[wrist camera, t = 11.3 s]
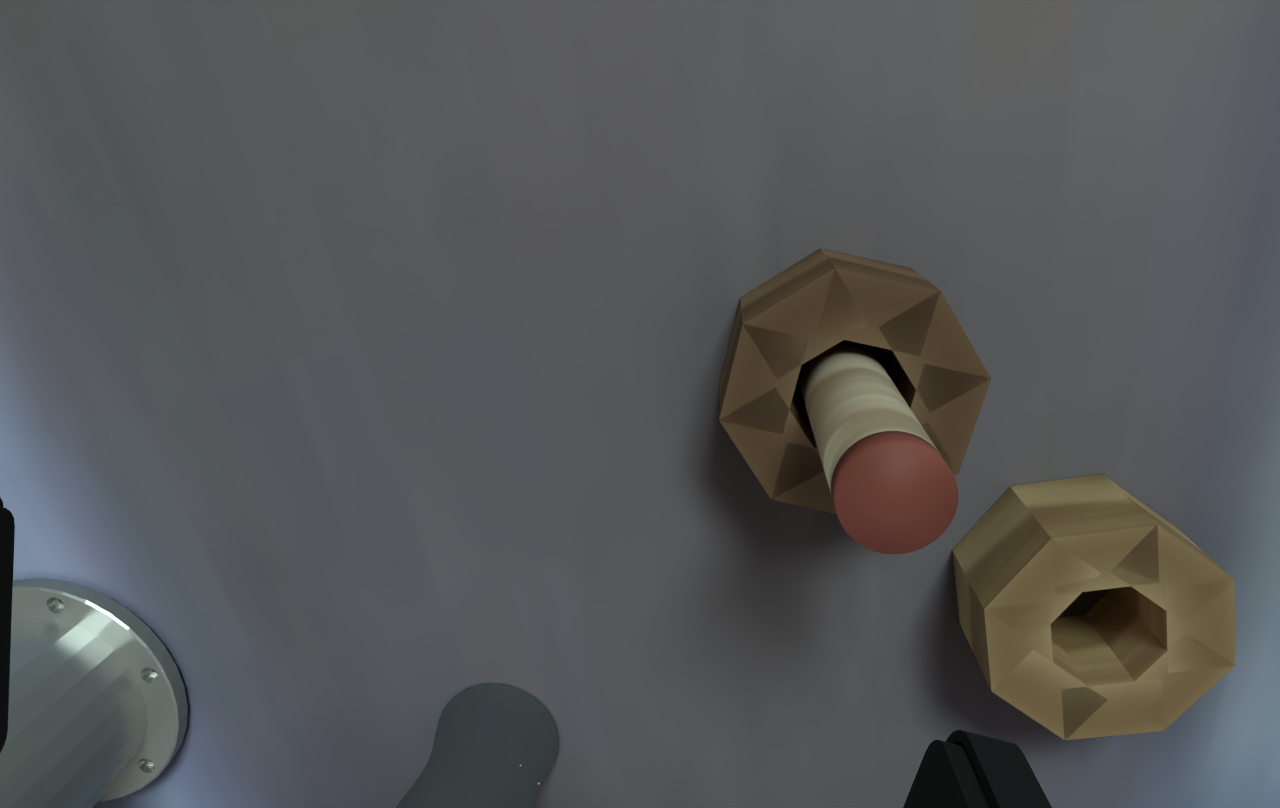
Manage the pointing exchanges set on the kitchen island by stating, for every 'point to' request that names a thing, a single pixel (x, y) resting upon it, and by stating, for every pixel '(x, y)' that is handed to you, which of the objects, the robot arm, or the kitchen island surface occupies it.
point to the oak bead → (1092, 609)
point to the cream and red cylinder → (875, 453)
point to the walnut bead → (819, 319)
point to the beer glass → (487, 752)
